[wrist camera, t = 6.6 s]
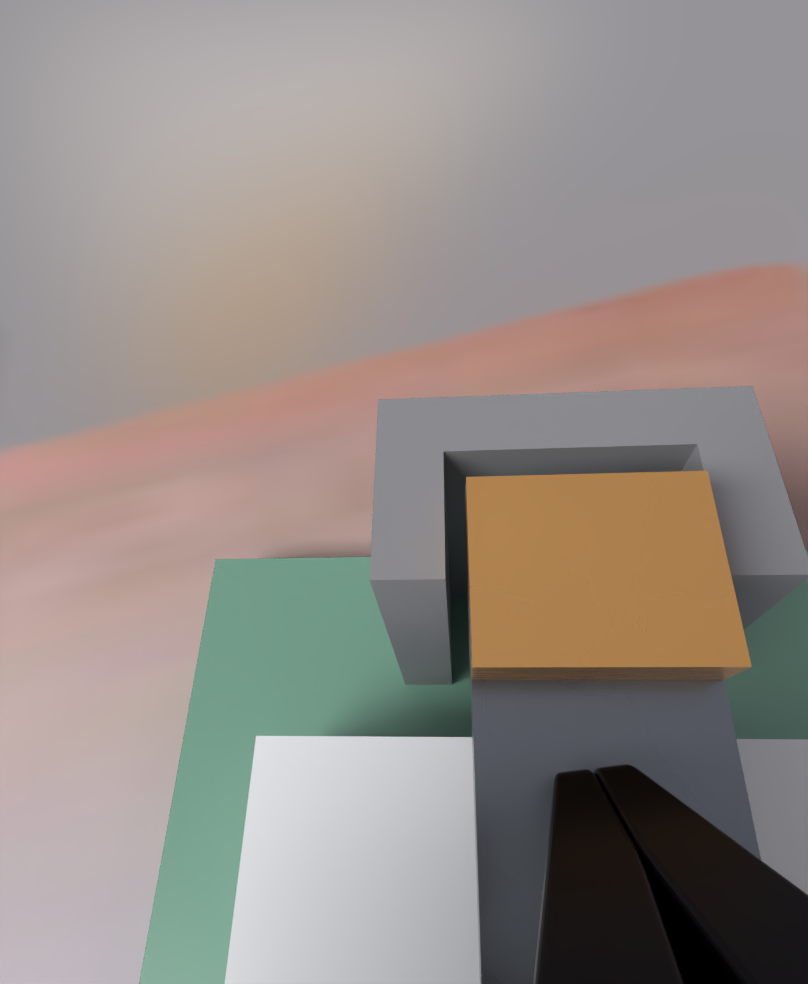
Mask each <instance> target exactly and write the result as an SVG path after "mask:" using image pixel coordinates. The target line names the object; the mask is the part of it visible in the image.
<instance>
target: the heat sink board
mask: <svg viewBox="0 0 808 984" xmlns="http://www.w3.org/2000/svg"><path fill="white" fill-rule="evenodd" d="M673 471H708V474H709V479H710V483H711V488H712V492H713V496H714V501H715V505H716V510H717V514H718V519H719V523H720V528H721V532H722V536H723V541H724V545H725V550H726V554H727V559H728V563H729V567H730V572H731V576H732V581H733V585H734V590H735V594H736V599H737V603H738V607H739V612H740V616H741V621H742V625H743V630H744V634H745V639H746V643H747V647H748V652H749V656H750V661H751V665H752V667H751V668H748V669H746V670H744V671H742V672H740V673H738V674H736V675H733V676H731V677H729V678H727V679H725V680H724V681H725V686H726V691H727V695H728V700H729V705H730V710H731V715H732V720H733V725H734V730H735V735H736V739H737V744H738V749H739V754H740V759H741V764H742V769H743V774H744V779H745V784H746V788H747V793H748V798H749V803H750V808H751V813H752V818H753V823H754V828H755V832H756V837H757V842H758V847H759V852H760V857H761V860H762V861H763V862H764V863H766V864H767V865H768V866H770V867H771V868H772V869H774V870H775V871H777V872H778V873H779V874H781V875H782V876H783V877H785V878H786V879H787V880H789V881H790V882H791V883H793V884H794V885H795V886H797V887H798V888H800V889H801V890H802V891H804V892H805V893H806V894H808V550H805V547H804V543H803V540H802V537H801V534H800V531H799V528H798V525H797V522H796V519H795V516H794V513H793V510H792V507H791V503H790V500H789V497H788V494H787V491H786V488H785V485H784V482H783V479H782V476H781V473H780V470H779V467H778V463H777V460H776V457H775V454H774V451H773V448H772V445H771V442H770V439H769V436H768V433H767V430H766V427H765V423H764V420H763V417H762V414H761V411H760V408H759V405H758V402H757V399H756V396H755V393H754V390H753V387H752V386H741V387H713V388H686V389H658V390H630V391H603V392H575V393H547V394H519V395H492V396H464V397H436V398H409V399H381V400H378V417H377V437H376V458H375V479H374V499H373V520H372V541H371V557H328V558H266V559H216V560H215V566H214V571H213V577H212V582H211V588H210V593H209V599H208V605H207V610H206V616H205V621H204V627H203V632H202V638H201V643H200V649H199V654H198V660H197V665H196V671H195V677H194V682H193V688H192V693H191V699H190V704H189V710H188V715H187V721H186V726H185V732H184V737H183V743H182V749H181V754H180V760H179V765H178V771H177V776H176V782H175V787H174V793H173V798H172V804H171V809H170V815H169V821H168V826H167V832H166V837H165V843H164V848H163V854H162V859H161V865H160V870H159V876H158V881H157V887H156V893H155V898H154V904H153V909H152V915H151V920H150V926H149V931H148V937H147V942H146V948H145V953H144V959H143V964H142V970H141V976H140V981H139V984H480V974H479V942H478V911H477V880H476V848H475V817H474V786H473V754H472V723H471V692H470V660H469V629H468V597H467V566H466V535H465V484H466V477H481V476H519V475H558V474H596V473H635V472H673Z"/></svg>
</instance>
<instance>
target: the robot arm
mask: <svg viewBox="0 0 808 984" xmlns="http://www.w3.org/2000/svg"><path fill="white" fill-rule="evenodd" d="M533 984H808V894H806V893H805V892H804V891H802V890H801V889H800V888H798V887H797V886H795V885H794V884H793V883H791V882H790V881H789V880H787V879H786V878H785V877H783V876H782V875H781V874H779V873H778V872H777V871H775V870H774V869H772V868H771V867H770V866H768V865H767V864H766V863H764V862H763V861H762V860H760V859H759V858H758V857H756V856H755V855H754V854H752V853H751V852H749V851H748V850H747V849H745V848H744V847H743V846H741V845H740V844H739V843H737V842H736V841H735V840H733V839H732V838H731V837H729V836H728V835H727V834H725V833H724V832H722V831H721V830H720V829H718V828H717V827H716V826H714V825H713V824H712V823H710V822H709V821H708V820H706V819H705V818H704V817H702V816H701V815H699V814H698V813H697V812H695V811H694V810H693V809H691V808H690V807H689V806H687V805H686V804H685V803H683V802H682V801H681V800H679V799H678V798H676V797H675V796H674V795H672V794H671V793H670V792H668V791H667V790H666V789H664V788H663V787H662V786H660V785H659V784H658V783H656V782H655V781H654V780H652V779H651V778H649V777H648V776H647V775H645V774H644V773H643V772H641V771H640V770H639V769H637V768H636V767H634V766H632V765H629V764H622V765H614V766H606V767H599V768H597V769H596V770H595V771H594V773H593V772H592V771H590V770H588V769H582V770H574V771H566V772H559V773H557V774H556V776H555V778H554V786H553V795H552V805H551V815H550V825H549V835H548V844H547V854H546V864H545V874H544V883H543V893H542V903H541V913H540V923H539V932H538V942H537V952H536V962H535V972H534V981H533Z"/></svg>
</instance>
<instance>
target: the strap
mask: <svg viewBox="0 0 808 984" xmlns="http://www.w3.org/2000/svg"><path fill="white" fill-rule="evenodd" d="M465 535H466V566H467V597H468V629H469V660H470V692H471V723H472V754H473V786H474V817H475V848H476V880H477V911H478V942H479V974H480V984H533V981H534V972H535V962H536V952H537V942H538V932H539V923H540V913H541V903H542V893H543V883H544V874H545V864H546V854H547V844H548V835H549V825H550V815H551V805H552V795H553V786H554V778H555V776H556V774H557V773H559V772H566V771H574V770H582V769H588V770H590V771H592V772H593V773H594V771H595V770H596V769H597V768H599V767H606V766H614V765H622V764H629V765H632V766H634V767H636V768H637V769H639V770H640V771H641V772H643V773H644V774H645V775H647V776H648V777H649V778H651V779H652V780H654V781H655V782H656V783H658V784H659V785H660V786H662V787H663V788H664V789H666V790H667V791H668V792H670V793H671V794H672V795H674V796H675V797H676V798H678V799H679V800H681V801H682V802H683V803H685V804H686V805H687V806H689V807H690V808H691V809H693V810H694V811H695V812H697V813H698V814H699V815H701V816H702V817H704V818H705V819H706V820H708V821H709V822H710V823H712V824H713V825H714V826H716V827H717V828H718V829H720V830H721V831H722V832H724V833H725V834H727V835H728V836H729V837H731V838H732V839H733V840H735V841H736V842H737V843H739V844H740V845H741V846H743V847H744V848H745V849H747V850H748V851H749V852H751V853H752V854H754V855H755V856H756V857H758V858H759V859H760V860H761V857H760V852H759V847H758V842H757V837H756V832H755V828H754V823H753V818H752V813H751V808H750V803H749V798H748V793H747V788H746V784H745V779H744V774H743V769H742V764H741V759H740V754H739V749H738V744H737V739H736V735H735V730H734V725H733V720H732V715H731V710H730V705H729V700H728V695H727V691H726V686H725V681H724V680H725V679H727V678H729V677H731V676H733V675H736V674H738V673H740V672H742V671H744V670H746V669H748V668H751V667H752V665H751V661H750V656H749V652H748V647H747V643H746V639H745V634H744V630H743V625H742V621H741V616H740V612H739V607H738V603H737V599H736V594H735V590H734V585H733V581H732V576H731V572H730V567H729V563H728V559H727V554H726V550H725V545H724V541H723V536H722V532H721V528H720V523H719V519H718V514H717V510H716V505H715V501H714V496H713V492H712V488H711V483H710V479H709V474H708V471H673V472H635V473H596V474H558V475H519V476H481V477H466V484H465Z"/></svg>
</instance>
